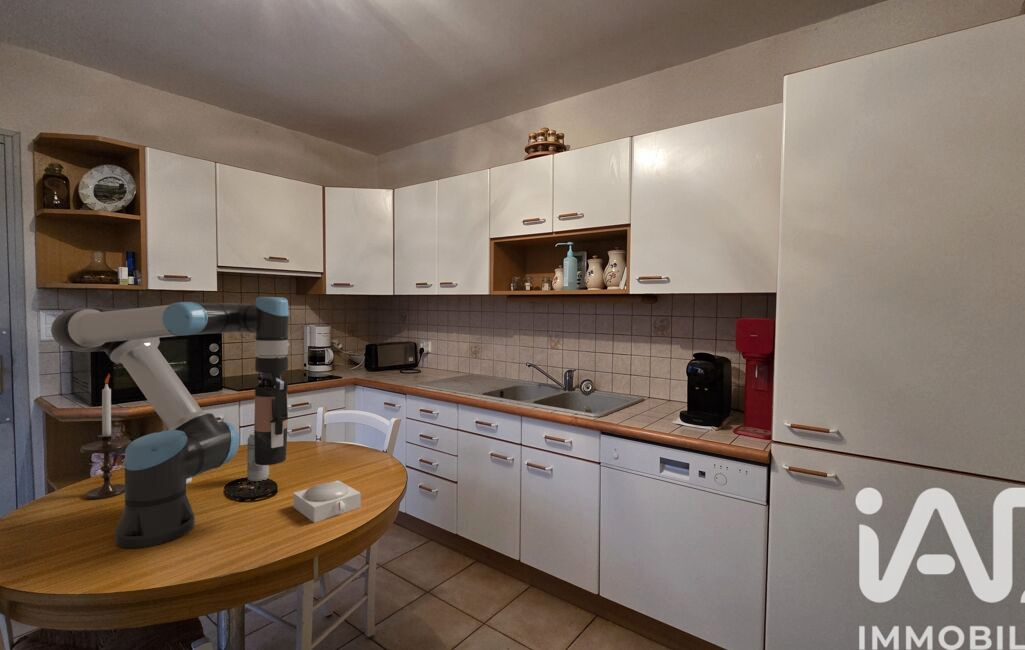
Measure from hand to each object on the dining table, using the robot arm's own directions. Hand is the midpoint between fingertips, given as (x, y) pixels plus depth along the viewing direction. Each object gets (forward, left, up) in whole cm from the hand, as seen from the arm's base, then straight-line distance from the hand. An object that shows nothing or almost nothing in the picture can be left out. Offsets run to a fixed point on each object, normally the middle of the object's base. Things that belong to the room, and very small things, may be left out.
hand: (270, 443), depth 117 cm
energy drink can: (+7, +30, -20) cm, 37 cm away
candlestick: (-27, +49, -20) cm, 59 cm away
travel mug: (0, 0, -5) cm, 5 cm away
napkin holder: (-11, +48, -20) cm, 53 cm away
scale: (+13, -5, -20) cm, 24 cm away
